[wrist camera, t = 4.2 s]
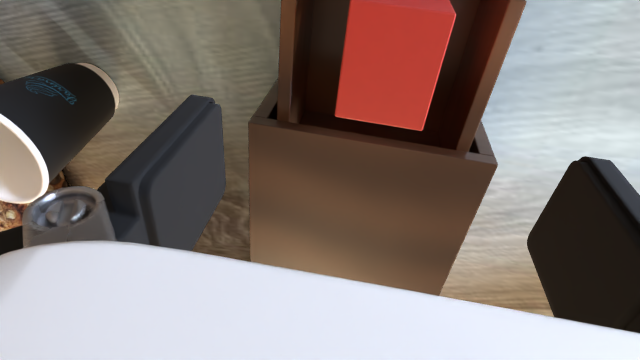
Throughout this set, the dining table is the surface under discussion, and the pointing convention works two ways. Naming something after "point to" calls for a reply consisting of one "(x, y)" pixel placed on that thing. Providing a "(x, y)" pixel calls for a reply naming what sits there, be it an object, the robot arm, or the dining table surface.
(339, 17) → the drawer
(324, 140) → the cabinet
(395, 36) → the red rectangular block
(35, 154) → the dixie cup
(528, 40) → the dining table surface
